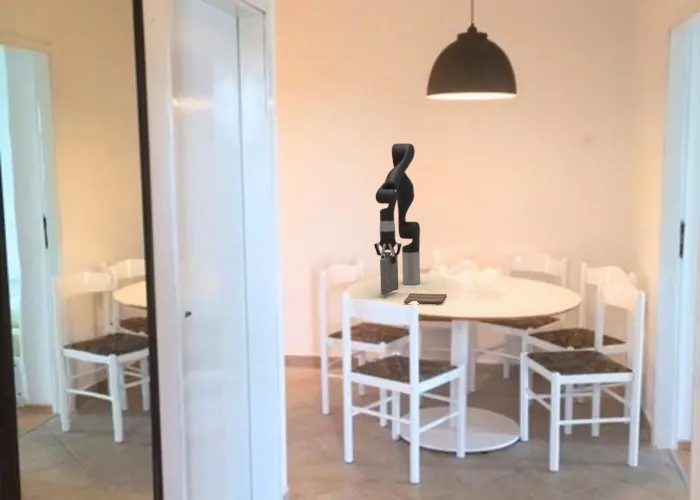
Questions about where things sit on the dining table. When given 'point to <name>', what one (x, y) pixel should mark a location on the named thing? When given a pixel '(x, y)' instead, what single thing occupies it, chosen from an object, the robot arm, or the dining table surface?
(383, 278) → the hip flask
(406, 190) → the robot arm
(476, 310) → the dining table surface
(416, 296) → the walnut board
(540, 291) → the dining table surface
